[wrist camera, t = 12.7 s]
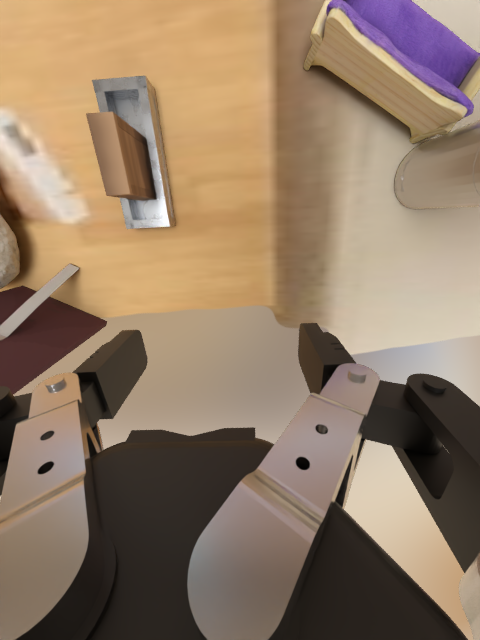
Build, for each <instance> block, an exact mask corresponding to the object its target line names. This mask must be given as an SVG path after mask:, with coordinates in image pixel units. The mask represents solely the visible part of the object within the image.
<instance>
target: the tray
mask: <svg viewBox="0 0 480 640" xmlns="http://www.w3.org/2000/svg"><path fill="white" fill-rule="evenodd" d="M92 82H93V86H94V90H95V93H96V97H97V102H98V106H99V110H100V112H114V113H115V114H116V115H118V116H119V117H120V118H121V119H123V120H124V121H125V122H126V123H128V124H129V125H130V126H131V127H133V128H134V129H135V130H136V131H138V132H139V133H140V134H142V135H143V136H144V137H145V138H147V144H148V150H149V155H150V161H151V167H152V173H153V178H154V184H155V190H156V196H157V200H142V201H139V200H132V199H126V198H120V201H121V205H122V210H123V214H124V218H125V224H126V228H127V229H133V228H150V227H168V226H176V225H175V218H174V212H173V205H172V198H171V192H170V185H169V179H168V172H167V166H166V159H165V153H164V146H163V139H162V133H161V126H160V120H159V113H158V107H157V100H156V94H155V89H154V87H153V86H152V85H151V83H150V82H149V80H148V79H147V77H146V76H136V77H124V78H112V79H100V80H92Z"/></svg>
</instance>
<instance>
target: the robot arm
mask: <svg viewBox="0 0 480 640" xmlns="http://www.w3.org/2000/svg"><path fill="white" fill-rule="evenodd" d="M394 187H395V193H396V196H397V198H398V200H399V201H400V202H401V203H402V204H403V205H404V206H406V207H408V208H412V209H427V208H454V207H477V206H480V120H479V121H476V122H474V123H472V124H469V125H467V126H464V127H462V128H459V129H457V130H454V131H452V132H449V133H448V134H446V135H442V136H439V137H437V138H435V139H432V140H430V141H427V142H425V143H423V144H421V145H419V146H417V147H416V148H414V149H413V150H412V151H410V152H409V153H408V155H407V156H406V157H405V158H404V159H403V161H402V162H401V164H400V166H399V168H398V170H397V173H396V177H395V184H394ZM298 357H299V363H300V366H301V369H302V372H303V374H304V377H305V379H306V382H307V385H308V387H309V390H310V393H311V394H310V396H309V397H308V398H307V400H306V401H305V402H304V404H303V405H302V407H301V408H300V409H299V411H298V412H297V414H296V415H295V417H294V418H293V419H292V421H291V422H290V423H289V425H288V426H287V428H286V429H285V431H284V432H283V433H282V435H281V436H280V437H279V439H278V440H277V442H276V443H275V444H272V443H270V442H268V441H265V440H262V439H258V438H255V428H224V429H219V430H215V431H211V432H207V433H203V434H199V435H195V436H187V435H182V434H178V433H174V432H169V431H165V430H136V431H135V430H132V431H131V433H130V435H129V437H128V438H127V440H126V442H122V443H119V444H116V445H113V446H111V447H109V448H107V449H105V450H104V449H103V444H102V439H101V434H100V430H99V427H98V424H97V422H98V421H99V419H113V418H114V416H115V415H116V413H117V411H118V410H119V409H120V407H121V405H122V404H123V402H124V401H125V399H126V398H127V396H128V395H129V393H130V392H131V390H132V389H133V387H134V386H135V384H136V383H137V381H138V380H139V378H140V376H141V375H142V373H143V372H144V370H145V369H146V366H147V355H146V351H145V347H144V343H143V339H142V335H141V332H140V331H139V330H125V331H124V330H123V331H121V332H120V333H119V334H118V335H117V336H116V337H115V338H114V339H112V340H111V341H110V342H108V343H106V344H104V345H102V346H101V347H100V348H99V349H98V350H97V351H96V352H95V353H94V354H92V355H91V356H90V358H88V359H87V360H86V361H85V362H83V363H82V364H81V365H80V366H79V367H78V368H77V369H76V370H75V371H74V372H72V373H63V374H59V375H55V376H53V377H50V378H48V379H46V380H44V381H43V382H41V383H40V384H38V385H37V386H36V387H35V388H34V390H33V392H32V393H29V394H25V395H20V396H15V397H14V396H13V394H12V392H11V391H10V389H9V388H8V387H6V386H0V496H1V500H0V640H468V639H467V638H466V636H465V635H464V634H463V633H462V631H461V630H460V629H459V628H458V627H457V626H456V624H455V623H454V622H453V621H452V620H451V618H450V617H449V616H448V615H447V614H446V613H445V612H444V611H443V610H442V609H441V608H440V607H439V606H438V604H437V603H435V601H434V600H433V599H432V598H431V597H430V596H429V595H428V594H427V593H426V592H425V591H424V590H423V589H422V588H421V587H419V585H418V584H417V583H416V582H415V581H414V580H413V579H412V578H411V577H410V576H409V575H408V574H407V573H406V572H405V571H404V570H403V569H402V568H401V567H400V566H399V565H398V564H397V563H396V562H395V561H394V560H393V559H392V558H391V557H390V556H389V555H388V554H387V553H386V552H385V551H384V550H383V549H382V548H381V547H380V546H379V545H378V544H377V543H376V542H375V541H374V540H373V539H372V538H371V537H370V536H369V535H368V534H367V533H366V532H365V531H364V530H363V529H362V528H361V527H360V526H359V524H357V523H356V521H355V520H354V519H352V517H351V516H350V515H349V514H348V513H347V512H346V511H345V510H344V507H345V504H346V501H347V498H348V494H349V490H350V487H351V483H352V480H353V477H354V474H355V471H356V468H357V465H358V462H359V459H360V456H361V453H362V450H363V448H364V444H365V442H366V439H367V440H371V441H375V442H379V443H383V444H387V445H391V446H392V447H393V449H394V450H395V452H396V454H397V456H398V457H399V459H400V461H401V463H402V464H403V466H404V468H405V470H406V471H407V473H408V475H409V477H410V478H411V480H412V482H413V484H414V485H415V487H416V489H417V491H418V493H419V494H420V496H421V498H422V499H423V501H424V503H425V505H426V507H427V508H428V510H429V511H430V513H431V515H432V517H433V519H434V521H435V522H436V524H437V526H438V527H439V529H440V531H441V533H442V534H443V536H444V538H445V540H446V541H447V543H448V545H449V547H450V548H451V550H452V552H453V554H454V555H455V557H456V559H457V561H458V563H459V564H460V566H461V568H462V570H463V571H464V573H465V574H464V576H463V577H462V579H461V580H460V584H459V595H460V600H461V603H462V607H463V609H464V611H465V614H466V617H467V619H468V621H469V624H470V626H471V630H472V634H473V638H474V640H480V407H479V406H478V405H477V404H476V403H475V402H473V401H472V400H471V399H470V398H469V397H468V396H467V395H466V394H464V393H463V392H462V391H461V390H460V389H459V388H457V387H456V386H455V385H454V384H452V383H450V382H449V381H447V380H444V379H442V378H440V377H437V376H433V375H429V374H413V375H411V376H409V377H408V379H407V383H406V385H404V384H398V383H392V382H386V381H381V380H380V378H379V376H378V374H377V373H376V372H375V371H373V370H372V369H370V368H368V367H366V366H364V365H360V364H356V362H355V361H354V360H353V358H352V357H351V356H350V354H349V353H348V352H347V350H346V349H345V348H344V346H343V345H342V344H341V343H340V341H339V340H338V339H337V337H335V336H334V335H332V334H330V333H329V332H324V333H323V332H322V330H321V329H320V327H319V326H318V324H317V323H302V324H300V329H299V349H298ZM444 447H445V448H446V449H447V450H446V449H445V448H444ZM448 452H449V453H448Z"/></svg>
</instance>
